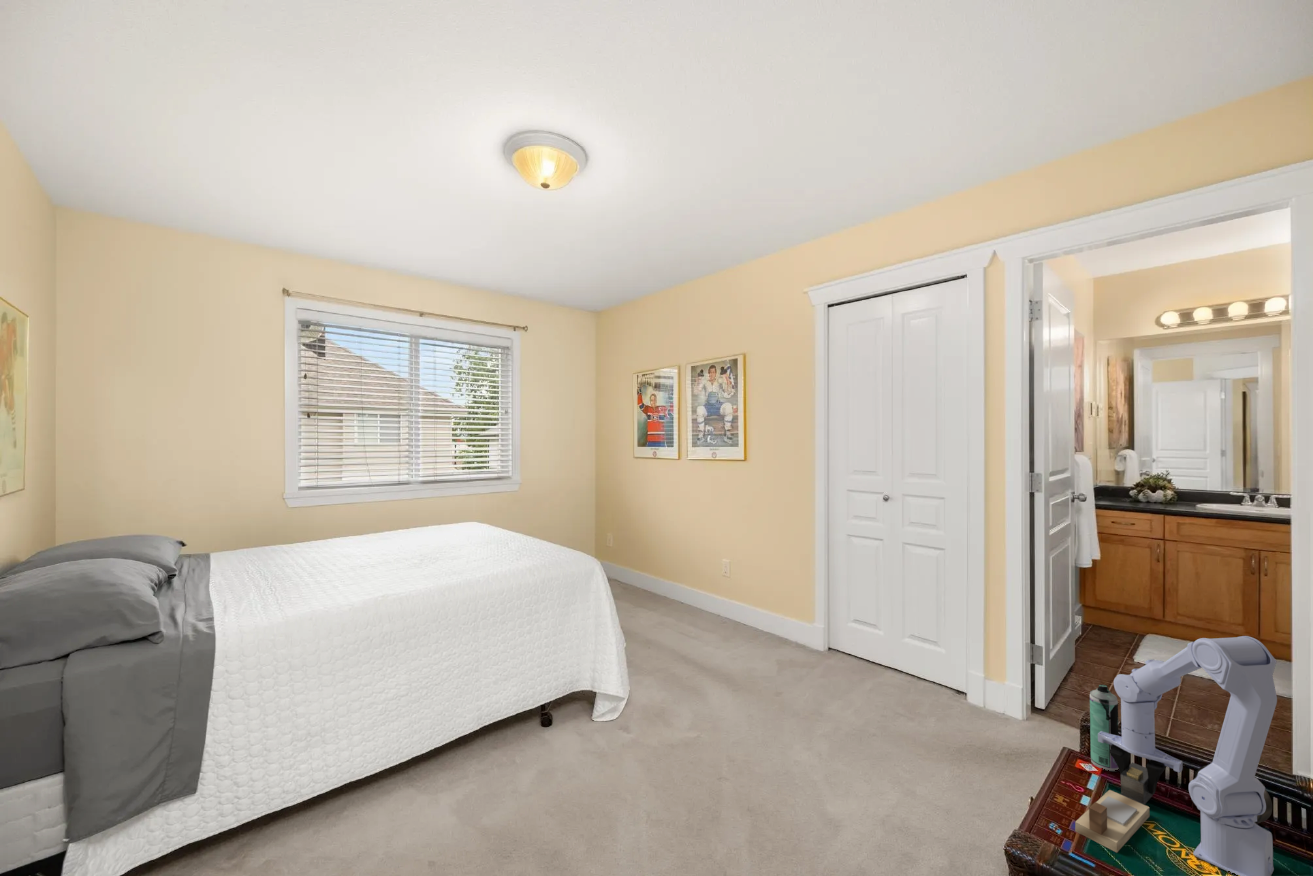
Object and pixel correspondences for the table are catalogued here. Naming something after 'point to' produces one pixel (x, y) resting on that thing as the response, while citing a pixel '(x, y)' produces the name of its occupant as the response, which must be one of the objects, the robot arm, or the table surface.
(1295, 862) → the table surface
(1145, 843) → the table surface
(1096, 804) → the hand plane
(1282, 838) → the table surface
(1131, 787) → the lever cap
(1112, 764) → the spray can
